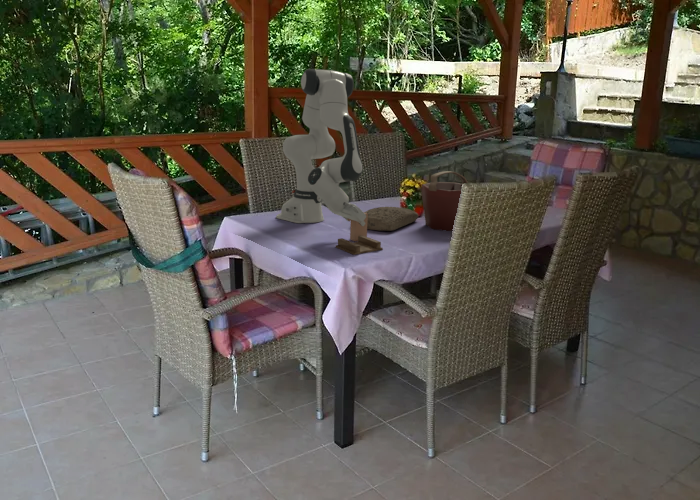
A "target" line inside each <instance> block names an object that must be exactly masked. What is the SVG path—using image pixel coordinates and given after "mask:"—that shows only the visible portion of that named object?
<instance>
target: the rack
mask: <svg viewBox="0 0 700 500" xmlns="http://www.w3.org/2000/svg"><path fill="white" fill-rule="evenodd" d="M381 246H382V242H381V241H379V240H376V239H374V238H371V237H368V236H367V237H366V236H363V235H360V236H358V241H353V242H352V241H349V240H348V239H345V238H337V244H336V245H335V248H336V249H339V250H341V251H343V252H347V253H348V254H351V255H353V256H354V255H355V256H356V255H361V254H366V253H371V252H377V251H383V247H381Z"/></svg>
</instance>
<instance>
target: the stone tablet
mask: <svg viewBox="0 0 700 500" xmlns="http://www.w3.org/2000/svg"><path fill="white" fill-rule="evenodd" d="M363 212H364V213H367V214H368V220H367V230H369V231H371V230H372V231H385V232H386V231H387V232H390V231H391V232H393V231H395V230H398V229H400V228H402V227H405V226H407V225H410V224H412V223H413V222H415V221H417V220H418V218H419V213H418V212H416V211H414V210H411V209H409V208H404V207H398V206H379V207H373V208H371V209H368V210H366V211H363Z"/></svg>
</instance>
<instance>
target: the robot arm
mask: <svg viewBox="0 0 700 500" xmlns="http://www.w3.org/2000/svg"><path fill="white" fill-rule="evenodd" d="M354 84H355V81H354V78H353V76H352V75H351V74H350V73H347V72H340V71H337V70H332V69H315V68H307V69H305V70H304V71H303V74H302V76H301V79H300V85H301V89H302V91H303V93H305V94H306V96H305V101H304V107H303V112H302V117H301V119H302V122H303V124H304V126H306V127H307V128H308V129H309V133H308V134H295V135H290V136H288V137H286V138H285V139H284V141H283V143H282V151H283V154H284V155H285V157H286V158H287V159H288V160H289V161H290V162H291V163H292V165H293V167H294V169H295V175H296V188H295V189H294V190H292V191H291V194H293V197H290V199H288V200H287V201H286V202H284V203H283V205H282V206H281V211H280V213H278V214H277V215H276V216H275V217H276V219H279V220H282V221H286V222H291V223H295V224H304V223H305V224H310V223H311V224H312V223H314V224H315V223H320V222H323V221H324V220H325V219H324V215H323V207H325V208H327V210H329V211H330V212H331V213H332V214H334V215H337V216H340V217H342V218H343V219H345V221H347V222H351V220H354V221H357V222H359V224H360V225H361V226H364V225H365V222H364V219H365V218H366V215H365V213H364V212H365V211H363V210H362V209H361V208H360V207H359V206H357V205H356V204H354V203H350V201H349V200H350V199H349V198H350V197H349V196H348V195H347V193H346V192H345V191H344V189H342V188H341V187H340V183H344V182H356V181H358V180H359V179H360V178H361V176H362V174H363V172H364V171H363V170H364V166H363V161H362V158H361V155H360V148H359V142H358V135H357V128H356V123H355V121H354V119H353V118H352V117H351V116H350V114H349V110H348V107H349V106H348V98H349V97H350V96H351V95H352V94H353V92H354V88H355V87H354ZM328 128H329V129H331V130H335V131H338V132H340V133H341V135H342V141H343V148H344V154H343V155H342V156H340V157H336V158H335V157H334V158H329V159H326V160H323V161H322V162H321V163H320V165H319V166H318V167H314V166H313V161H312V160H315V159H316V160H317V159H324V158H327V157H331V156H333V154H334V153H335V150H336V141H335V140H334V138H333V137H332V135H331V134H330V133H329V129H328ZM322 206H323V207H322Z"/></svg>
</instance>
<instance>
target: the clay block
mask: <svg viewBox="0 0 700 500" xmlns="http://www.w3.org/2000/svg"><path fill="white" fill-rule="evenodd" d="M365 215H366V218H365V219H364V222H365V225H364V226H361V225H360V224H359V222H357V221H354V220H350V226H349V227H350V231H349V240H351V241H353V242H358V236H360V235H363V236H366V237H368V229H367V220H368V214H367V213H365Z"/></svg>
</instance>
